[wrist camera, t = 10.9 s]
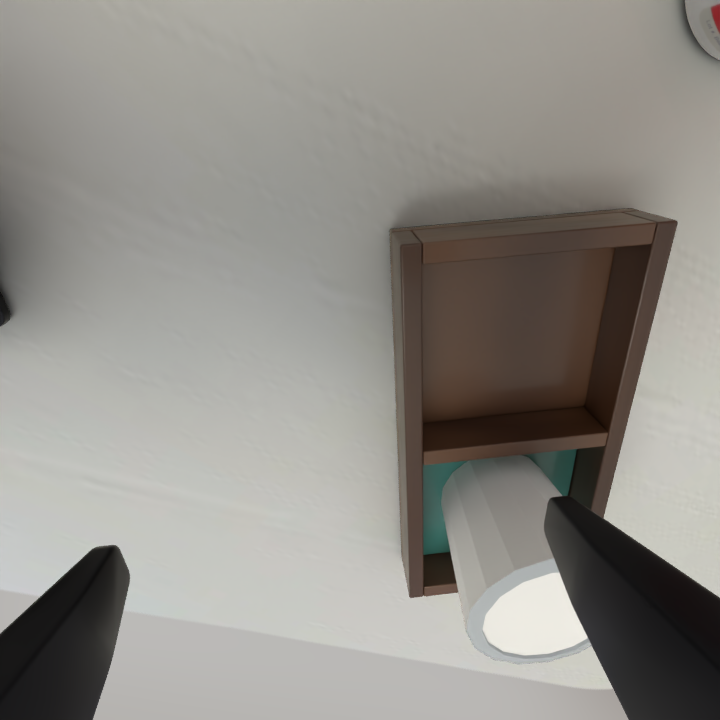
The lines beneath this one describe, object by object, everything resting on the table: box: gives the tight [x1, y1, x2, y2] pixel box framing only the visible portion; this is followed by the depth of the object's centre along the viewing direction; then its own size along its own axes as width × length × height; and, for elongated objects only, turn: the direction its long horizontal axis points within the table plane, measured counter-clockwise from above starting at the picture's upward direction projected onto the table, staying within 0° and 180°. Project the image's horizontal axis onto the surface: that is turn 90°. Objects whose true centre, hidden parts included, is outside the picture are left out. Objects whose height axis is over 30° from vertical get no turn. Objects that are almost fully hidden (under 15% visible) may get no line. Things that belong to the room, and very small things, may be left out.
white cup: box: [441, 455, 592, 664], centre depth 21 cm, size 7×7×7 cm
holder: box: [389, 208, 677, 598], centre depth 22 cm, size 10×19×3 cm, turn 4°
